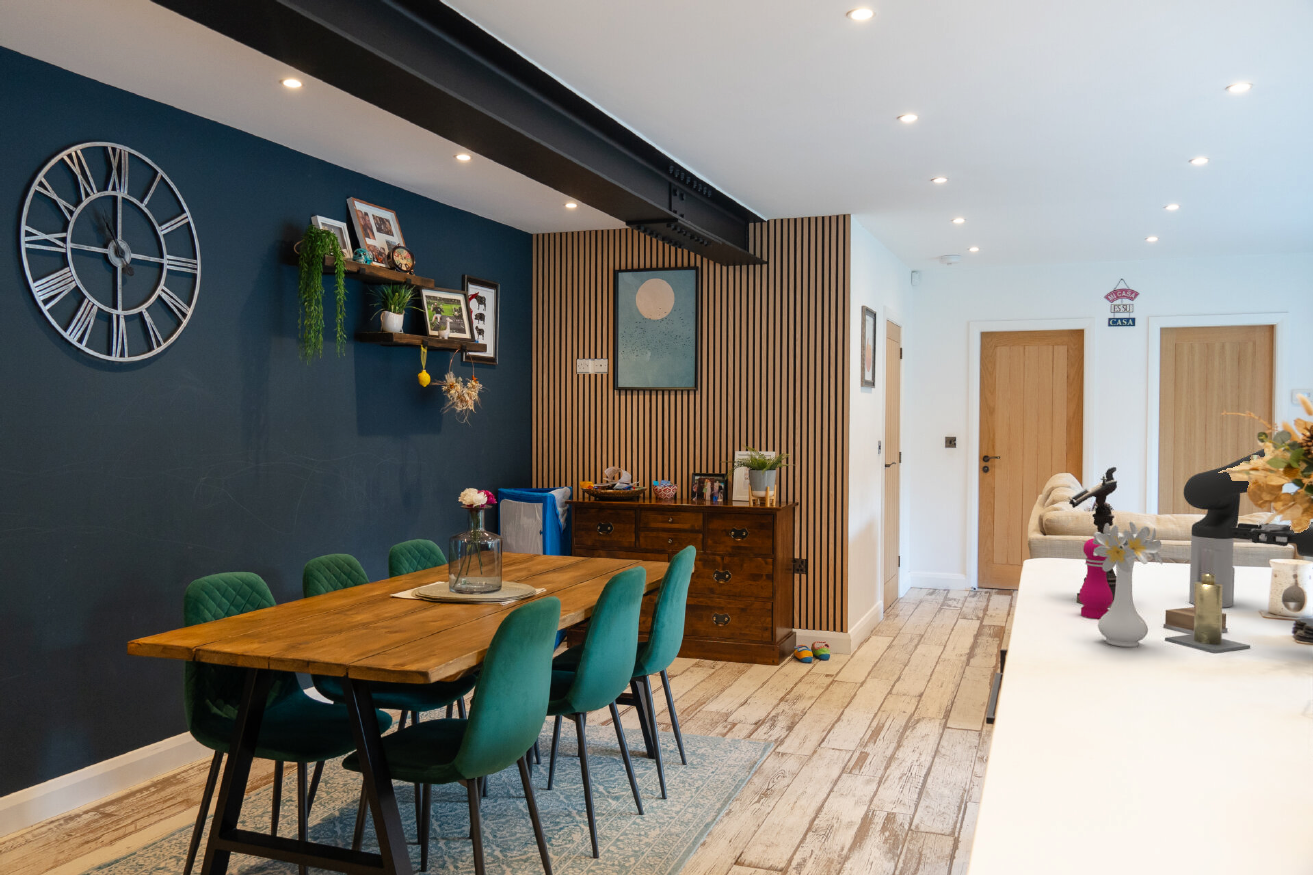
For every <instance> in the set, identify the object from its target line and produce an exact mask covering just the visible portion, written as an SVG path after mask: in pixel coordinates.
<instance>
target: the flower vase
mask: <svg viewBox="0 0 1313 875" xmlns="http://www.w3.org/2000/svg"><path fill="white" fill-rule="evenodd" d="M1128 524H1129V529H1130V531H1129V530H1127V529H1124V530H1123V533H1122V532H1119V530H1120V529H1119V526H1118V525H1117V524H1113V525H1112V526H1109V524H1108V523H1106V524H1105V526H1104V530H1103V532H1104V534H1101V533H1100V534H1097V535H1096V538H1095V539H1094V540H1093V544H1098V545H1100V546H1099V547H1097V548H1095V549H1094V553H1093V555H1094V556H1098V555H1099V556H1102V557H1107V558H1106V559H1105V561H1104V563H1103V565H1102V568H1103V570H1104V571H1110V570H1111V569H1112V568H1113V569H1114V567H1115V569H1116V573H1115V575H1116V589H1115V597H1114V601H1113V604H1112V606H1111V608H1108V609H1109V611H1108V612H1107V613H1105V614H1104V615H1103V616H1102V617H1101V618H1100V619H1098V623H1097V628H1098V631H1099V633H1100V634H1101V635H1102V636H1104V638H1105V642H1106V643H1107V644H1109V645H1113V646H1115V647H1122V648H1136V647H1138V646H1139V644H1140V641H1141V640H1143V639H1144V638H1145V637H1146V636H1147V635H1148V632H1149V629H1148V625H1147V623H1146V621H1145V620H1144V619H1143V617H1142V616H1141V615H1140V614H1139V613H1138V611H1137V610H1136V607H1135V603H1134V599H1133V598H1134V597H1133V596H1134V595H1133V572H1134V570H1133V569H1134V566H1135V560H1136V558H1137V559H1138V561H1139V562H1140V563H1142V564H1143V565H1146V564H1148V562H1149V560H1148V556H1147V554H1149V555H1150V556H1151V557H1152V558H1153V559H1154V560H1155V562H1156V563H1159V564H1161V565H1163V559H1162V557H1161V555H1160V553H1159V551H1160V549H1161V548H1162V542H1161V540H1160V539H1156V536H1157V531H1156V528H1155V527H1154V528H1153V529H1152V532H1151V528H1150V527H1148V526H1143V527H1141V528H1139V530H1138V528H1137V526H1136V524H1135V523H1133V521H1129V523H1128ZM1111 527H1112V528H1111ZM1149 536H1150V537H1149ZM1148 537H1149V539H1148ZM1155 539H1156V540H1155Z"/></svg>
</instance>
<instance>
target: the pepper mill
mask: <svg viewBox="0 0 1313 875" xmlns="http://www.w3.org/2000/svg"><path fill="white" fill-rule="evenodd" d="M1097 534H1100V532H1098V531H1096V532H1094V533H1093V538H1089V539H1088V540H1086V541H1085V543H1084V544H1083V548H1082V550H1083V553H1084V555H1085V556H1086V558H1085V562H1084V563H1085V565H1086V567H1087V568H1086V570H1087V571H1086V575H1087V577H1086V576H1085V577H1086V580H1085V582H1084V581H1083V583H1084V584H1082V585H1083V586H1082V585H1081V588H1080V589H1081V590H1080V589H1079V593H1080V594H1079V599H1080V601H1081V602H1082V605H1083V606H1082V607H1080V615H1081V617H1083V618H1089V619H1095V620H1100V618H1101V617H1102V616H1103V615H1104V614H1105V613H1107V612H1108V611H1109V609H1110V608H1108V607H1109V606H1110V605H1111V604H1112V602H1113V595H1112V592H1111V589H1110V587H1109V585H1108V582H1107V578H1106V571H1104V570H1103V568H1102V565H1103V563H1104V561H1105V559H1106V558H1107V557H1102V556H1099V555H1098V556H1094V555H1093V553H1094V549H1095V548H1097V547H1099V546H1100V545H1098V544H1093V540H1094V539H1095V538H1096V535H1097Z"/></svg>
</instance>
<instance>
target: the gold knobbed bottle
mask: <svg viewBox="0 0 1313 875" xmlns="http://www.w3.org/2000/svg"><path fill="white" fill-rule="evenodd" d="M1193 607H1194V641H1196V642H1200V643H1205V644H1221V643H1222V639H1223V637H1222V636H1223V633H1222V613H1223V607H1222V584H1219V583H1215V574H1207V573H1203V574H1202V582H1195V584H1194V604H1193Z"/></svg>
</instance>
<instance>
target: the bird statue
mask: <svg viewBox="0 0 1313 875" xmlns="http://www.w3.org/2000/svg"><path fill="white" fill-rule="evenodd" d="M1116 471H1117V467H1115V466H1113V467H1108V468H1107V470H1106V471H1105V473H1104V474H1102V478H1100V480H1101V482H1099V483H1098V484H1096V485H1094V486H1092V488H1085V489H1083V490H1081V491H1079V492H1078V493H1076V494H1075V495H1073V496H1068V497H1067V498H1068V499H1069V502H1068V504H1069V505H1071V506H1072V509H1074V508H1076V507H1078V506H1079V505H1080V504H1082V503H1084V502H1085V501H1087V500H1088V499H1090V498H1093V497H1094V498H1095V502H1096V504H1097V506H1096V507H1095V511H1094V513H1092V515H1091V516H1092V517H1093V525H1094V526H1096V527H1097V528H1096V529H1097V532H1100V533H1101V534H1104V532H1103V530H1104V526H1105V524H1106V523H1108V524H1109V526H1110V527H1113V526H1114V522H1113V520H1114V519H1115V515H1114V514H1112V509H1111V507H1110V506H1109V505H1107V504H1105V503H1106V501H1107V496H1109V495H1111V494H1112V493H1113V492H1115V491H1116V489H1117V487H1118V484H1117V483H1118V480H1116V479H1115V478H1114V475H1113V474H1114V473H1116ZM1086 577H1087V574H1086V575H1085V577H1084V578H1083V584H1084V582H1085V580H1086ZM1106 578H1107V582H1108V585H1109V587H1110V589H1111V592H1112V595H1113V601H1114V597H1115V589H1116V573H1115V571H1114V567H1113V568H1112V569H1111V570H1110V571H1106ZM1083 584H1082V585H1081V587H1082V586H1083ZM1080 590H1081V588H1080V589H1079V591H1080ZM1079 594H1080V592H1077V593H1076V603H1077V604H1080V605H1081V604H1082V602H1081V601H1080V599H1079ZM1112 604H1113V602H1112ZM1112 604H1111V605H1110V606H1109V607H1108V609H1110V608H1111V606H1112ZM1082 605H1083V604H1082Z"/></svg>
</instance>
